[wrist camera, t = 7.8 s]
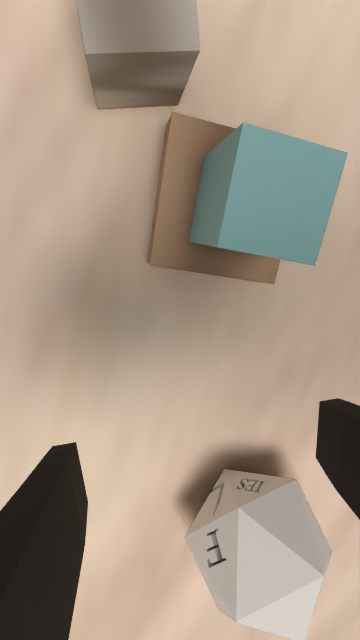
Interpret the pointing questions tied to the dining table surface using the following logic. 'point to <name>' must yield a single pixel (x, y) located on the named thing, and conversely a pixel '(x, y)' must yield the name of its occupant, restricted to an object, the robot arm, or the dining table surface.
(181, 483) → the dining table surface
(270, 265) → the walnut slab
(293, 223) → the teal block
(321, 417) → the robot arm
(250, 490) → the die
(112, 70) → the grey block
